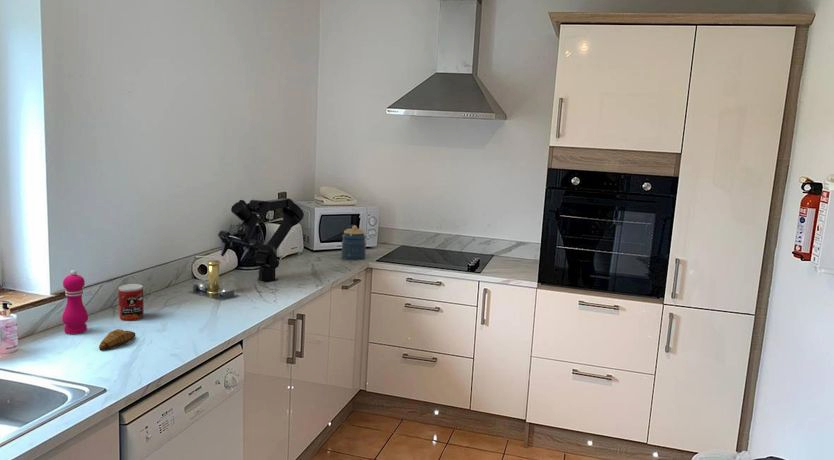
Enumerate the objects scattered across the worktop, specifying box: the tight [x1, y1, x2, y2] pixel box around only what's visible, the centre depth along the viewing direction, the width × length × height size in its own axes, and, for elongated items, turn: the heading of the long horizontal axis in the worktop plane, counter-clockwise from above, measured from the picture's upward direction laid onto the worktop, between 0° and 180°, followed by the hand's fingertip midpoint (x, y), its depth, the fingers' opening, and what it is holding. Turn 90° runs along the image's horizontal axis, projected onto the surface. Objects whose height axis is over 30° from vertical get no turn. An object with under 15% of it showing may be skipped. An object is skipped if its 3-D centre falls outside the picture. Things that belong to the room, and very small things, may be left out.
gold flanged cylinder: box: [206, 259, 221, 295], centre depth 244 cm, size 5×5×13 cm
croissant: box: [98, 328, 137, 351], centre depth 185 cm, size 14×7×5 cm, turn 163°
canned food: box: [118, 283, 145, 322], centre depth 210 cm, size 8×8×11 cm
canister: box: [341, 224, 367, 260], centre depth 326 cm, size 13×13×18 cm
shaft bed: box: [187, 281, 240, 301], centre depth 244 cm, size 19×9×3 cm, turn 60°
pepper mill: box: [61, 269, 89, 335], centre depth 193 cm, size 7×7×20 cm
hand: (231, 258), depth 249 cm, fingers open, 9 cm apart
